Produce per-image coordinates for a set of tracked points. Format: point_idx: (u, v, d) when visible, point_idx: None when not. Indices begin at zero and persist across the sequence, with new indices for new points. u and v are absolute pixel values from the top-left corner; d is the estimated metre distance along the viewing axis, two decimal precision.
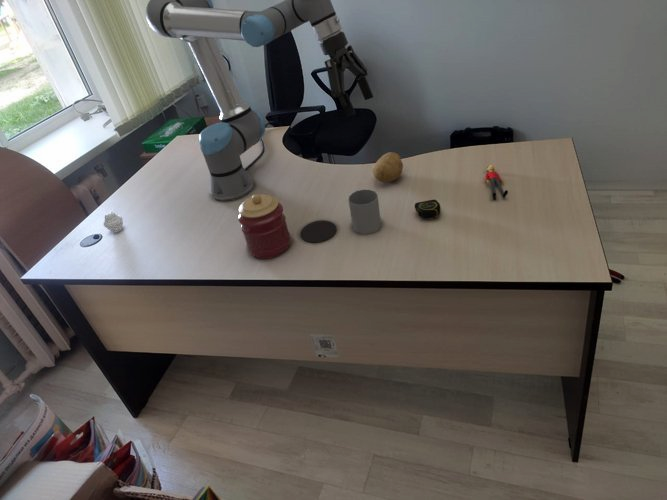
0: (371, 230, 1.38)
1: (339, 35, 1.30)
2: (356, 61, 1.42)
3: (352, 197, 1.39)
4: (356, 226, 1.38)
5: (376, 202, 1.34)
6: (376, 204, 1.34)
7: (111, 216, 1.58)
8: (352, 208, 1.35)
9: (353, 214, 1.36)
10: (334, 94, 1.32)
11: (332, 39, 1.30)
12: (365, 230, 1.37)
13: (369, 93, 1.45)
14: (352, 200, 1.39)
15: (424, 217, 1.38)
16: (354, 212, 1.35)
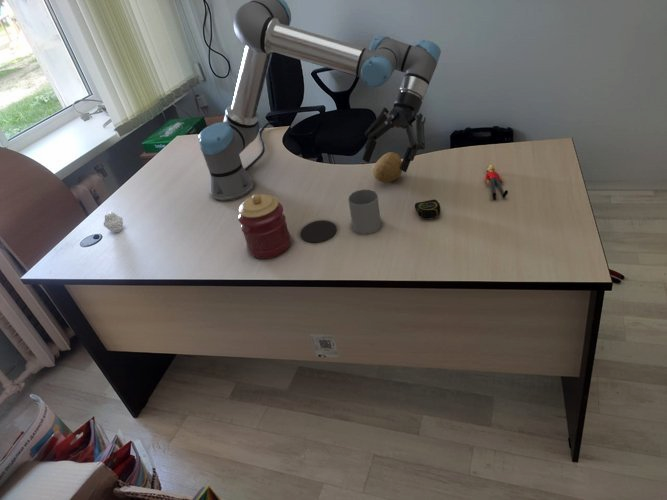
0: (371, 230, 1.38)
1: None
2: (379, 125, 1.42)
3: (352, 197, 1.39)
4: (356, 226, 1.38)
5: (376, 202, 1.34)
6: (376, 204, 1.34)
7: (111, 216, 1.58)
8: (352, 208, 1.35)
9: (353, 214, 1.36)
10: (422, 146, 1.31)
11: (421, 103, 1.36)
12: (365, 230, 1.37)
13: (369, 157, 1.43)
14: (352, 200, 1.39)
15: (424, 217, 1.38)
16: (354, 212, 1.35)
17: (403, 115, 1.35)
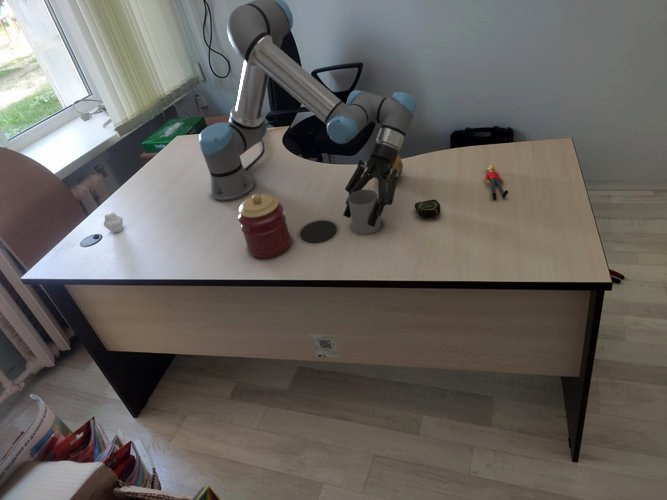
0: (371, 230, 1.38)
1: None
2: (358, 178, 1.41)
3: (352, 197, 1.39)
4: (356, 226, 1.38)
5: (376, 202, 1.34)
6: None
7: (111, 216, 1.58)
8: (352, 208, 1.35)
9: (353, 214, 1.36)
10: (389, 202, 1.32)
11: None
12: (365, 230, 1.37)
13: (350, 213, 1.41)
14: (352, 200, 1.39)
15: (424, 217, 1.38)
16: (354, 212, 1.35)
17: (379, 167, 1.34)
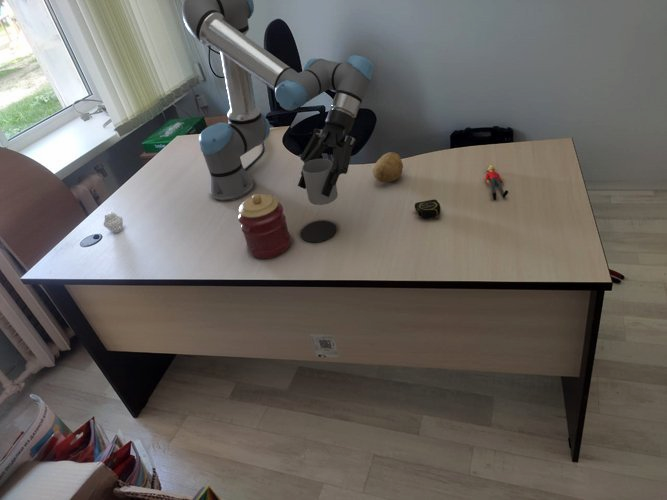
0: (326, 201, 1.32)
1: None
2: (314, 147, 1.35)
3: (307, 166, 1.33)
4: (311, 196, 1.32)
5: (331, 171, 1.28)
6: None
7: (111, 216, 1.58)
8: (306, 177, 1.29)
9: (307, 184, 1.30)
10: (343, 170, 1.26)
11: None
12: (320, 201, 1.32)
13: None
14: (307, 170, 1.33)
15: (424, 217, 1.38)
16: (308, 182, 1.29)
17: (334, 134, 1.28)
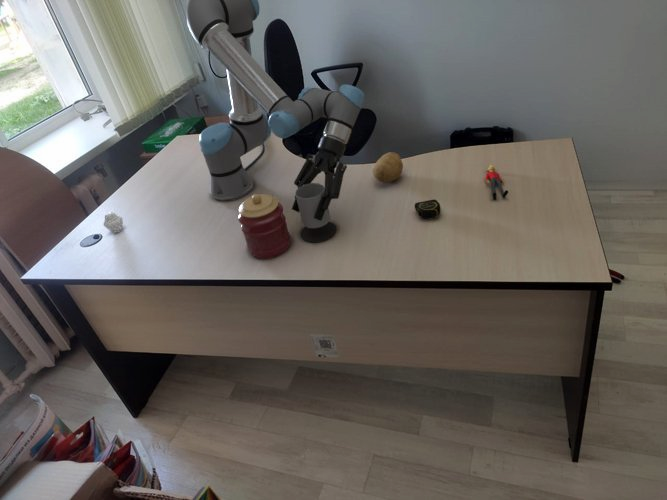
0: (319, 224, 1.36)
1: None
2: (307, 172, 1.40)
3: (300, 191, 1.37)
4: (304, 220, 1.37)
5: (323, 196, 1.33)
6: None
7: (111, 216, 1.58)
8: (299, 202, 1.34)
9: (300, 208, 1.35)
10: (335, 196, 1.31)
11: (345, 147, 1.35)
12: (313, 224, 1.36)
13: None
14: (300, 194, 1.38)
15: (424, 217, 1.38)
16: (301, 206, 1.34)
17: (326, 160, 1.33)
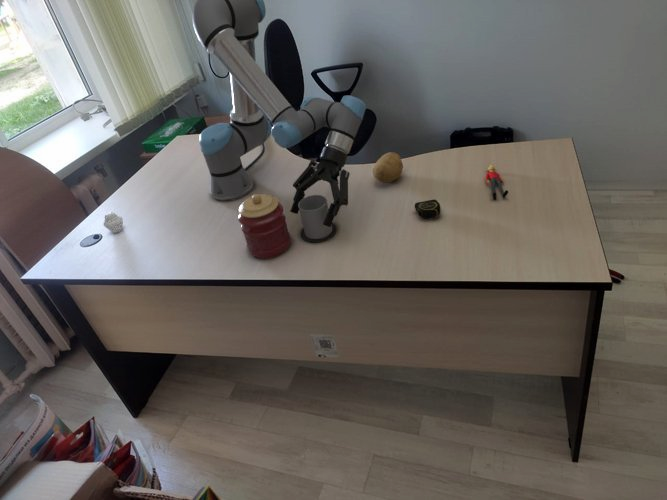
0: (321, 235, 1.39)
1: None
2: (308, 177, 1.42)
3: (303, 202, 1.40)
4: (307, 231, 1.39)
5: (325, 208, 1.35)
6: (325, 209, 1.36)
7: (111, 216, 1.58)
8: (301, 213, 1.36)
9: (303, 219, 1.37)
10: (344, 202, 1.31)
11: None
12: (315, 235, 1.39)
13: (298, 209, 1.43)
14: (303, 205, 1.40)
15: (424, 217, 1.38)
16: (303, 218, 1.36)
17: (328, 170, 1.35)
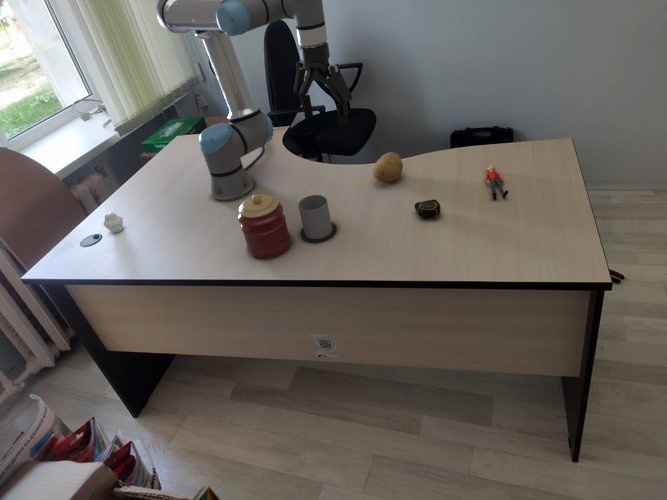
0: (321, 235, 1.39)
1: None
2: (303, 78, 1.34)
3: (303, 202, 1.40)
4: (307, 231, 1.39)
5: (325, 208, 1.35)
6: (325, 209, 1.36)
7: (111, 216, 1.58)
8: (301, 213, 1.36)
9: (303, 219, 1.37)
10: (348, 99, 1.25)
11: None
12: (315, 235, 1.39)
13: (311, 112, 1.39)
14: (303, 205, 1.40)
15: (424, 217, 1.38)
16: (303, 218, 1.36)
17: (316, 72, 1.25)
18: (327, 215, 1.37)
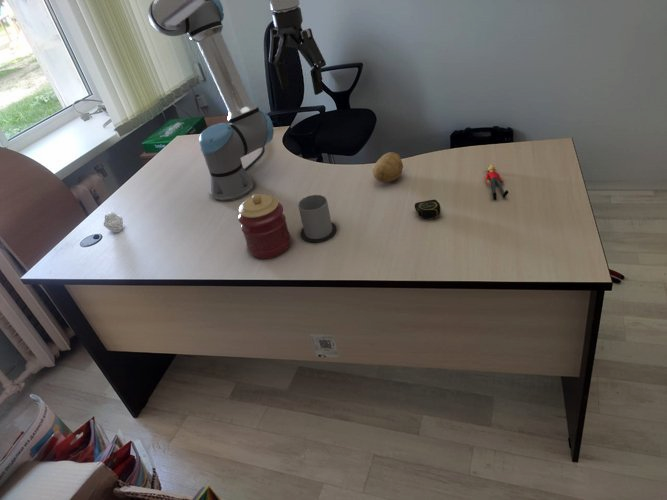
0: (321, 235, 1.39)
1: None
2: (278, 46, 1.33)
3: (303, 202, 1.40)
4: (307, 231, 1.39)
5: (325, 208, 1.35)
6: (325, 209, 1.36)
7: (111, 216, 1.58)
8: (301, 213, 1.36)
9: (303, 219, 1.37)
10: (321, 65, 1.24)
11: (300, 10, 1.22)
12: (315, 235, 1.39)
13: (287, 81, 1.39)
14: (303, 205, 1.40)
15: (424, 217, 1.38)
16: (303, 218, 1.36)
17: (289, 37, 1.24)
18: (327, 215, 1.37)
